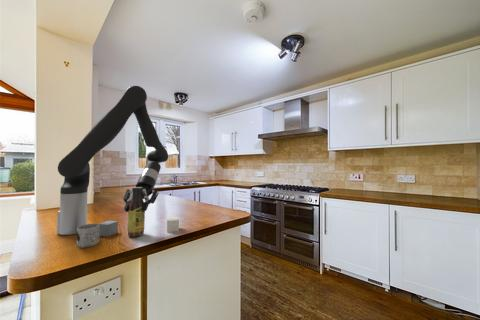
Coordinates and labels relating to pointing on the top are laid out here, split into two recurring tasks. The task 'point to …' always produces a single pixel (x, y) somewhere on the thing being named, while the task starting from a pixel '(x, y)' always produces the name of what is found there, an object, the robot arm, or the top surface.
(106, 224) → the slate block
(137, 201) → the sauce bottle
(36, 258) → the top surface
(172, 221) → the off-white block
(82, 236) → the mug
